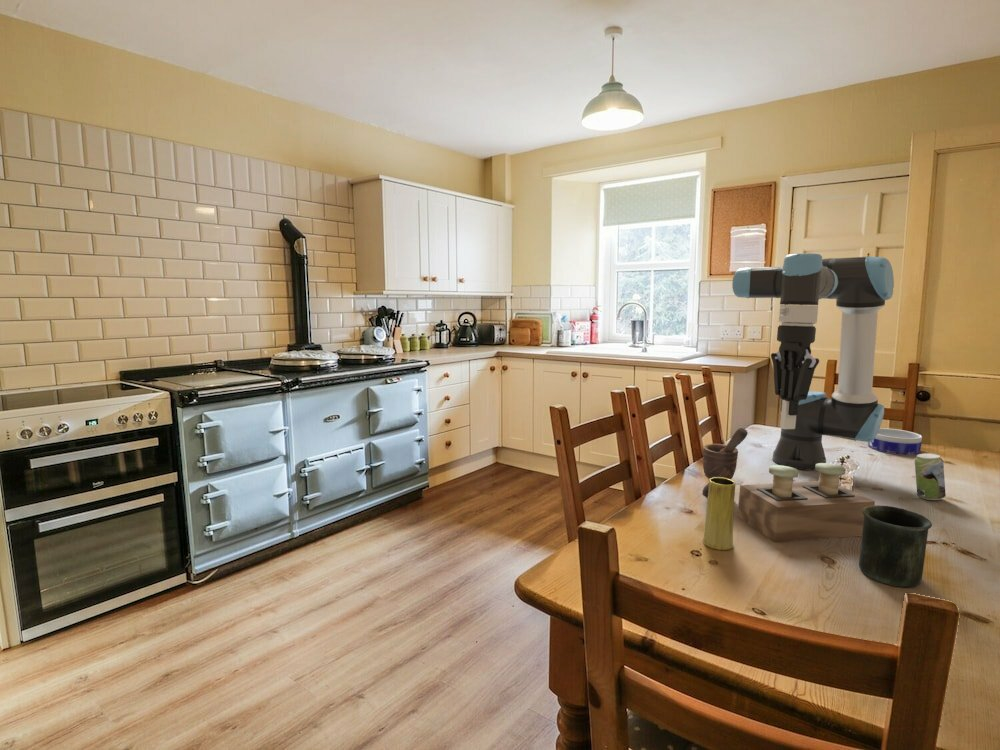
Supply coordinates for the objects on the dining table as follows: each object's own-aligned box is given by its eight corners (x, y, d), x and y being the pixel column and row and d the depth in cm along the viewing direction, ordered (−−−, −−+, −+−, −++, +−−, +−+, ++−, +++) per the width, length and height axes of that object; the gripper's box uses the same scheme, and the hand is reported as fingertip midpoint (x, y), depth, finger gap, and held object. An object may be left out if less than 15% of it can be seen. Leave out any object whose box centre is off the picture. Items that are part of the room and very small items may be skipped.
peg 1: (761, 498, 130) (763, 465, 129) (784, 497, 131) (786, 464, 129) (777, 508, 124) (780, 474, 123) (801, 506, 125) (804, 472, 124)
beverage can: (950, 503, 143) (955, 459, 142) (918, 501, 145) (923, 457, 143) (936, 495, 150) (941, 452, 148) (905, 492, 151) (911, 450, 149)
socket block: (737, 516, 134) (740, 484, 133) (825, 511, 138) (828, 479, 137) (775, 542, 120) (778, 505, 119) (871, 535, 124) (875, 500, 123)
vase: (730, 553, 115) (735, 487, 113) (699, 546, 118) (704, 482, 116) (735, 542, 120) (739, 479, 118) (706, 535, 123) (710, 474, 121)
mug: (854, 578, 105) (860, 518, 103) (858, 550, 117) (864, 496, 115) (925, 596, 99) (933, 533, 97) (922, 564, 111) (929, 508, 109)
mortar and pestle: (751, 498, 146) (756, 424, 144) (738, 506, 140) (744, 430, 137) (708, 487, 154) (713, 417, 151) (695, 495, 148) (699, 422, 145)
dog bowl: (857, 444, 201) (858, 428, 200) (895, 443, 203) (897, 427, 202) (890, 456, 186) (892, 439, 185) (931, 455, 188) (934, 438, 187)
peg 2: (806, 495, 132) (809, 463, 130) (828, 494, 133) (832, 462, 131) (825, 505, 126) (828, 471, 125) (848, 503, 127) (851, 470, 126)
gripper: (763, 323, 128) (754, 422, 131) (802, 325, 115) (791, 435, 118) (792, 323, 129) (783, 421, 132) (834, 326, 116) (823, 434, 120)
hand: (787, 428), depth 125 cm, fingers closed
